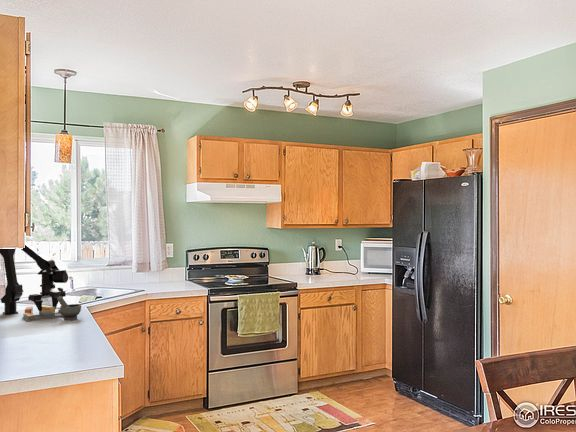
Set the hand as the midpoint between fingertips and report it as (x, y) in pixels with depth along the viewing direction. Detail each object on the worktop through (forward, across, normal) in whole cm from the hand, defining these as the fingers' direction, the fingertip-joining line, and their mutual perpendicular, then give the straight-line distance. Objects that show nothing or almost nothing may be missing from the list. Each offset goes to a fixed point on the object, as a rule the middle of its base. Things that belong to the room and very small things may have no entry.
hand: (47, 311), depth 274 cm
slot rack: (+1, -6, -9) cm, 11 cm away
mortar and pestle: (+1, -5, -24) cm, 25 cm away
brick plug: (+1, -8, +4) cm, 9 cm away
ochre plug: (+1, 0, 0) cm, 1 cm away
